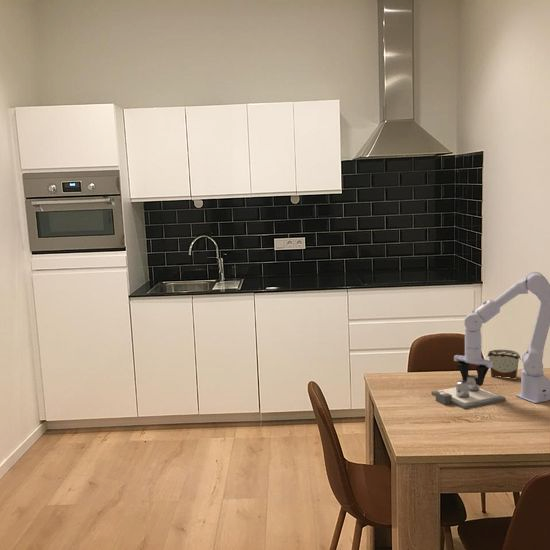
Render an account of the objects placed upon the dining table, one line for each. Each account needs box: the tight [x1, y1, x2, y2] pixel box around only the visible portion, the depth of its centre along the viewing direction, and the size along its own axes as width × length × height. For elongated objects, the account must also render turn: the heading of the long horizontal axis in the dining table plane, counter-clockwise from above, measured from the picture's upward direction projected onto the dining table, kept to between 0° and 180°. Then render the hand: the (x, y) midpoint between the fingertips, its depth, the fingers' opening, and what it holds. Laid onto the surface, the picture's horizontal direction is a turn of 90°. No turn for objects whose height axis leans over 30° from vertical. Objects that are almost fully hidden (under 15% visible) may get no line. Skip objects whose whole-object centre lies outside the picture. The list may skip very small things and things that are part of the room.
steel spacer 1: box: [455, 379, 469, 398], centre depth 220 cm, size 4×4×5 cm
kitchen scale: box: [431, 386, 507, 410], centre depth 222 cm, size 18×21×3 cm
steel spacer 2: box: [467, 374, 481, 392], centre depth 226 cm, size 4×4×5 cm
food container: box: [487, 349, 522, 379], centre depth 245 cm, size 12×6×10 cm, turn 58°
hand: (473, 383), depth 226 cm, fingers open, 5 cm apart
